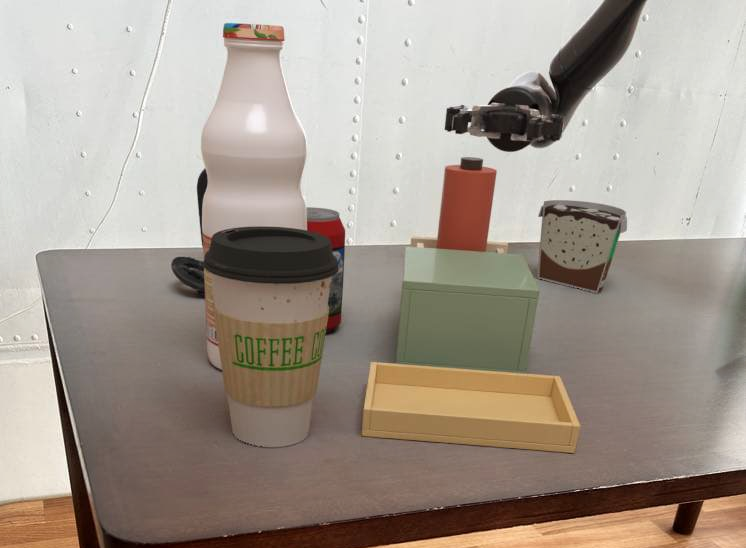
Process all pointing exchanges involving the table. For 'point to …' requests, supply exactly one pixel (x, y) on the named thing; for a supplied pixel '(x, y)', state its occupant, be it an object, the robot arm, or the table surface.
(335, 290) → the beverage can
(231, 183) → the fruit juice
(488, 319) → the cabinet
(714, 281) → the table surface
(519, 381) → the tray
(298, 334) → the coffee cup
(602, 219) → the food container
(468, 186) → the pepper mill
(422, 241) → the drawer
